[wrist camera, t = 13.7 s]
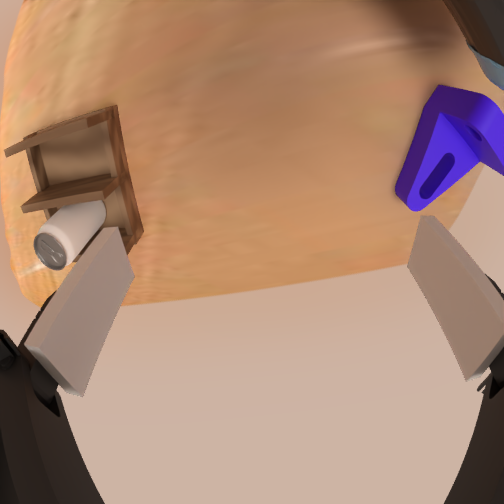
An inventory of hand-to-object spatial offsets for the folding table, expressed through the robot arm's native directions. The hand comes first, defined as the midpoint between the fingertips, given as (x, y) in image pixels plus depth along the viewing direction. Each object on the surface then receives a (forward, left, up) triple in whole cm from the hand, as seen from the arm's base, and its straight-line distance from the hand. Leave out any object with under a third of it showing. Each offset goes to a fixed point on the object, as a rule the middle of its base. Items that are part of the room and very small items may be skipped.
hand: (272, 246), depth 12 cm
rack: (+4, -27, -27) cm, 38 cm away
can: (+8, -27, -26) cm, 38 cm away
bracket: (+2, +25, -27) cm, 37 cm away
